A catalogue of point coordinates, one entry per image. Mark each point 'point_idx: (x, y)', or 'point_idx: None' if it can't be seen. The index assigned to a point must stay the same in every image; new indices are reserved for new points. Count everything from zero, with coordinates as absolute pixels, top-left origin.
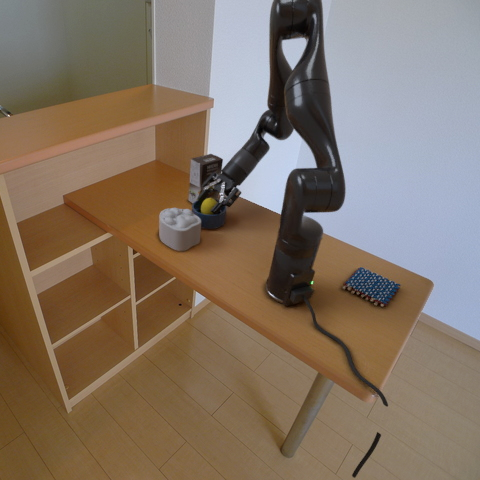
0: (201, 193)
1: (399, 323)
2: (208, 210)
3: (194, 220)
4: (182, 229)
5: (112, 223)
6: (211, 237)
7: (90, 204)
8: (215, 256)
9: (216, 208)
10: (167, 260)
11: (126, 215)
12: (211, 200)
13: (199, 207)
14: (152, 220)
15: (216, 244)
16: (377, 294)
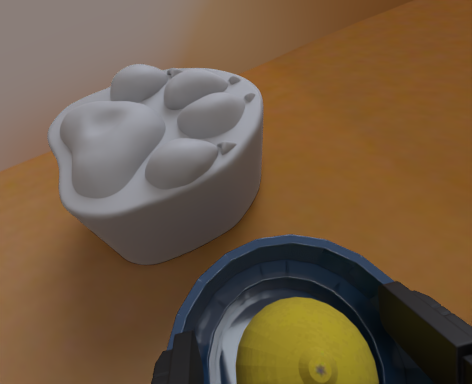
0: (435, 312)
1: None
2: (243, 333)
3: (73, 167)
4: (57, 119)
5: (310, 50)
6: (135, 326)
7: (417, 16)
8: (5, 294)
9: (160, 378)
10: None
11: (355, 76)
12: (291, 372)
13: (374, 321)
14: (318, 133)
15: (74, 331)
16: None
